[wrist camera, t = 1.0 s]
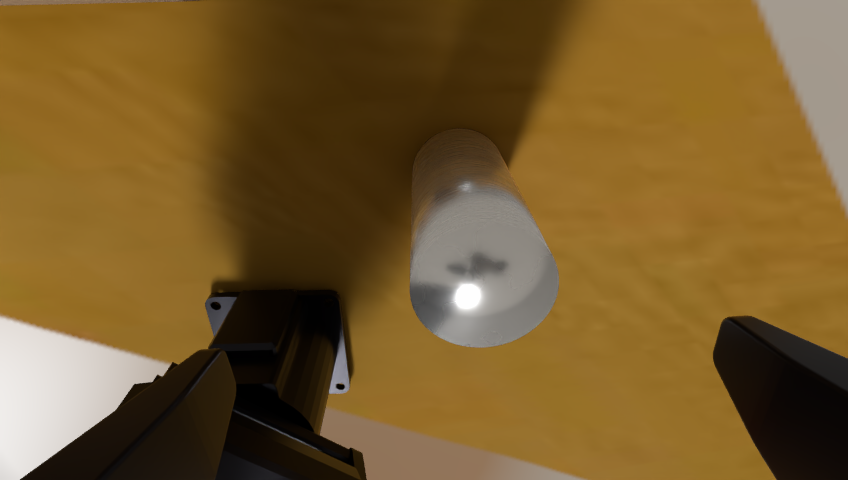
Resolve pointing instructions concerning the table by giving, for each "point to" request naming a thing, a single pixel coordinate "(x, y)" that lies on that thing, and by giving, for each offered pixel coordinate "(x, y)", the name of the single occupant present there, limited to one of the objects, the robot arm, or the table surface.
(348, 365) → the robot arm
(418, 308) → the silver upright cylinder
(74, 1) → the hole board
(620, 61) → the table surface
